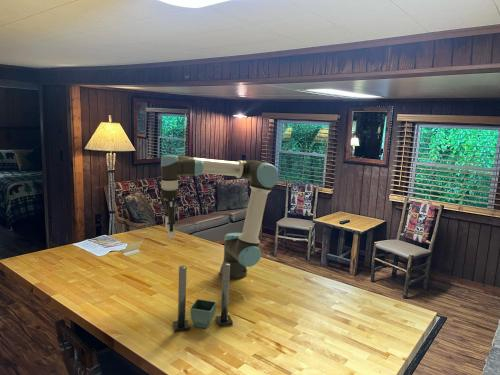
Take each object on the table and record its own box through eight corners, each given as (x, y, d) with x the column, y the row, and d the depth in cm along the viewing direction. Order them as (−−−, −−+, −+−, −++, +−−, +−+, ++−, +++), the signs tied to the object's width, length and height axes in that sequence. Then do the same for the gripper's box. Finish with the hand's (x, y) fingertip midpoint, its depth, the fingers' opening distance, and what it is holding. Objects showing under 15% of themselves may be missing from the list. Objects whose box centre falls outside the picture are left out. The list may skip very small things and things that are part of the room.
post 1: (187, 323, 162) (188, 264, 158) (189, 330, 156) (191, 269, 152) (172, 324, 160) (174, 265, 156) (174, 332, 154) (176, 270, 150)
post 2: (228, 318, 168) (231, 260, 164) (232, 325, 162) (235, 266, 158) (215, 319, 166) (217, 261, 162) (218, 326, 160) (221, 267, 156)
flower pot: (209, 332, 156) (210, 311, 155) (189, 328, 158) (189, 308, 156) (216, 321, 165) (217, 301, 163) (196, 318, 166) (197, 298, 165)
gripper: (159, 184, 188) (159, 226, 192) (163, 194, 165) (163, 242, 168) (174, 184, 190) (174, 225, 194) (181, 194, 167) (181, 241, 171)
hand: (169, 233), depth 181 cm, fingers open, 13 cm apart
